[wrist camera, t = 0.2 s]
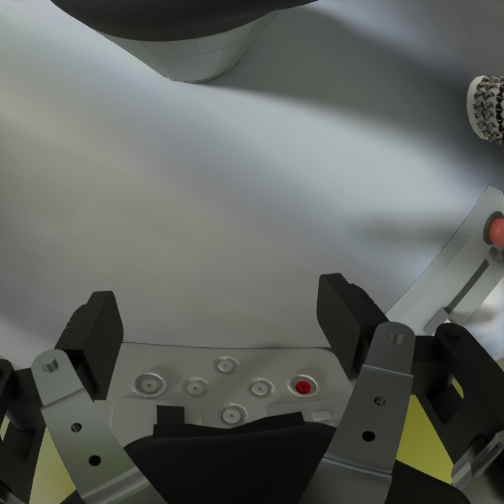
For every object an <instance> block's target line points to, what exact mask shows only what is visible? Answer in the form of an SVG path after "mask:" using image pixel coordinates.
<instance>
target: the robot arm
mask: <svg viewBox="0 0 504 504" xmlns="http://www.w3.org/2000/svg"><path fill="white" fill-rule="evenodd" d="M51 1H52V2H53V3H54V4H55V5H56V6H58V7H59V8H60V9H62V10H63V11H64V12H66V13H67V14H69V15H70V16H72V17H74V18H75V19H77V20H79V21H80V22H82V23H84V24H85V25H87V26H88V27H90V28H91V29H93V30H95V31H96V32H98V33H99V34H101V35H103V36H104V37H106V38H107V39H109V40H110V41H112V42H114V43H115V44H117V45H118V46H120V47H121V48H123V49H124V50H126V51H127V52H129V53H130V54H132V55H133V56H135V57H136V58H138V59H139V60H141V61H142V62H143V63H145V64H146V65H148V66H149V67H150V68H152V69H153V70H155V71H156V72H158V73H159V74H161V75H162V76H164V77H166V78H169V79H171V80H173V81H178V82H184V83H198V82H203V81H208V80H211V79H214V78H216V77H219V76H221V75H222V74H224V73H226V72H227V71H229V70H230V69H231V68H232V67H233V66H234V65H235V64H237V62H238V61H239V60H240V59H241V57H242V56H243V55H244V54H245V53H246V51H247V50H248V49H249V48H250V46H251V45H252V44H253V43H254V41H255V40H256V39H257V38H258V37H259V35H260V34H261V33H262V32H263V31H264V29H265V28H266V27H267V26H268V25H269V23H270V22H271V21H272V20H273V19H274V18H275V16H276V15H277V14H278V13H279V11H280V10H282V9H287V8H292V7H296V6H300V5H305V4H308V3H311V2H315V1H318V0H51ZM317 319H318V322H319V325H320V327H321V328H322V330H323V332H324V334H325V336H326V338H327V340H328V342H329V344H330V345H331V347H332V349H333V351H334V353H335V355H336V357H337V359H338V361H339V363H340V364H341V366H342V368H343V370H344V372H345V374H346V376H347V378H348V380H351V379H355V378H358V379H357V381H356V384H355V386H354V389H353V392H352V394H351V397H350V399H349V402H348V404H347V406H346V409H345V411H344V414H343V416H342V418H341V421H340V423H339V425H338V427H337V428H336V427H334V426H331V425H328V424H324V423H319V422H311V421H304V418H303V415H302V412H301V411H300V412H294V413H288V414H282V415H275V416H268V417H264V418H261V419H258V420H255V421H252V422H249V423H246V424H243V425H239V426H236V427H233V428H228V429H225V428H216V427H209V426H202V425H196V424H154V426H153V435H148V436H145V437H142V438H139V439H137V440H135V441H133V442H131V443H129V444H127V445H126V446H124V447H122V446H121V445H120V443H119V442H118V440H117V439H116V437H115V436H114V434H113V433H112V431H111V430H110V428H109V427H108V425H107V424H106V422H105V421H104V419H103V418H102V416H101V414H100V413H99V411H98V410H97V408H96V406H95V405H94V401H95V400H105V401H106V398H107V394H108V390H109V387H110V383H111V379H112V375H113V372H114V368H115V365H116V361H117V358H118V354H119V351H120V347H121V344H122V341H123V325H122V321H121V317H120V314H119V310H118V307H117V303H116V299H115V296H114V293H113V292H112V291H97V292H93V293H92V295H91V297H90V299H89V300H88V302H87V304H85V305H82V306H81V307H79V308H78V309H77V310H76V311H75V312H74V313H73V315H72V317H71V318H70V322H68V324H67V326H66V329H64V331H63V333H62V335H61V337H60V338H59V340H58V342H57V344H56V346H55V348H54V349H52V350H48V351H45V352H43V353H41V354H40V355H38V356H37V357H36V358H35V359H34V361H33V363H32V365H31V368H26V369H21V370H16V371H15V370H14V368H13V366H12V365H11V363H10V362H9V361H8V360H5V359H0V428H1V424H2V422H3V419H4V417H5V415H6V416H7V417H8V419H9V420H10V422H9V425H8V427H7V430H6V434H5V436H4V439H3V441H2V439H1V436H0V504H29V500H30V494H31V489H32V483H33V477H34V473H35V468H36V464H37V459H38V455H39V451H40V447H41V443H42V439H43V435H44V432H45V428H46V427H47V428H48V430H49V433H50V435H51V437H52V440H53V442H54V444H55V447H56V449H57V451H58V453H59V455H60V457H61V460H62V462H63V464H64V466H65V468H66V470H67V472H68V473H69V475H70V478H71V480H72V482H73V483H74V485H75V487H76V490H75V491H74V492H73V493H72V494H71V495H69V496H68V497H67V498H66V499H65V500H64V501H63V502H61V503H60V504H504V372H503V371H502V369H501V368H500V367H499V366H498V364H497V363H496V362H495V361H494V360H493V359H492V357H491V356H490V355H489V354H488V353H487V352H486V350H485V349H484V348H483V347H482V346H481V345H480V344H479V343H478V341H477V340H476V339H475V338H474V337H473V336H472V335H471V334H470V333H469V332H468V331H467V330H466V329H465V328H464V327H462V326H460V325H458V324H455V323H442V324H440V325H439V326H438V327H437V329H436V331H435V334H434V336H418V335H415V333H414V331H413V330H412V329H411V328H410V327H408V326H407V325H405V324H402V323H399V322H392V321H391V322H390V320H389V319H388V318H387V317H386V316H385V314H384V313H383V312H382V311H381V310H380V308H379V307H378V306H377V305H376V304H374V301H373V300H372V299H371V298H369V295H368V294H367V293H366V292H365V291H364V290H363V289H362V288H360V287H358V286H357V285H355V284H353V283H352V284H349V283H348V282H347V281H346V279H345V278H344V277H343V276H342V274H341V273H332V274H322V275H321V276H320V279H319V288H318V299H317ZM454 378H455V379H456V380H457V381H458V383H459V384H460V386H461V387H462V389H463V394H464V398H463V399H462V397H461V396H460V394H459V393H458V392H457V390H456V389H455V387H454V386H453V384H452V381H453V379H454ZM410 395H416V397H417V398H418V400H419V402H420V404H421V406H422V407H423V409H424V411H425V413H426V414H427V416H428V418H429V420H430V421H431V423H432V425H433V427H434V429H435V430H436V432H437V434H438V436H439V438H440V440H441V442H442V443H443V445H444V447H445V449H446V451H447V453H448V455H449V456H450V458H451V460H452V462H453V464H454V466H453V469H452V472H451V477H452V483H451V485H450V484H448V483H446V482H443V481H441V480H438V479H436V478H434V477H432V476H430V475H428V474H425V473H423V472H421V471H419V470H417V469H415V468H413V467H411V466H409V465H407V464H404V463H402V462H400V461H398V460H396V455H397V452H398V448H399V444H400V440H401V436H402V432H403V428H404V423H405V419H406V414H407V410H408V405H409V400H410Z"/></svg>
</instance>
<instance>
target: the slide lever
mask: <svg viewBox="0 0 504 504" xmlns="http://www.w3.org/2000/svg"><path fill="white" fill-rule="evenodd" d="M442 323H455V324H457V323H456V322H455V321H454V320H453V319H452V318H451V317H450V316H449V315H448V313H447V312H446V311H445V310H444V309H443V308H442V309H441V310H440V311H439V312H438V314H437V315H436V316H435V317H434V318H433V319H432V320H431V321H430V322H429V323H428V324H427V325H426V326H425V327H424V329H423V331H424V332H425V333H426V335H427V336H434V334H435V331H436V329H437V327H438V326H439V325H440V324H442Z"/></svg>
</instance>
